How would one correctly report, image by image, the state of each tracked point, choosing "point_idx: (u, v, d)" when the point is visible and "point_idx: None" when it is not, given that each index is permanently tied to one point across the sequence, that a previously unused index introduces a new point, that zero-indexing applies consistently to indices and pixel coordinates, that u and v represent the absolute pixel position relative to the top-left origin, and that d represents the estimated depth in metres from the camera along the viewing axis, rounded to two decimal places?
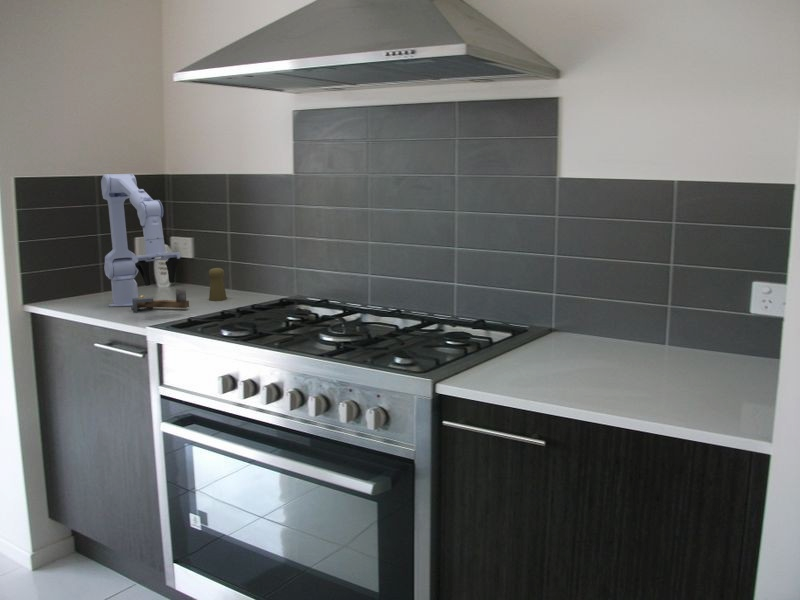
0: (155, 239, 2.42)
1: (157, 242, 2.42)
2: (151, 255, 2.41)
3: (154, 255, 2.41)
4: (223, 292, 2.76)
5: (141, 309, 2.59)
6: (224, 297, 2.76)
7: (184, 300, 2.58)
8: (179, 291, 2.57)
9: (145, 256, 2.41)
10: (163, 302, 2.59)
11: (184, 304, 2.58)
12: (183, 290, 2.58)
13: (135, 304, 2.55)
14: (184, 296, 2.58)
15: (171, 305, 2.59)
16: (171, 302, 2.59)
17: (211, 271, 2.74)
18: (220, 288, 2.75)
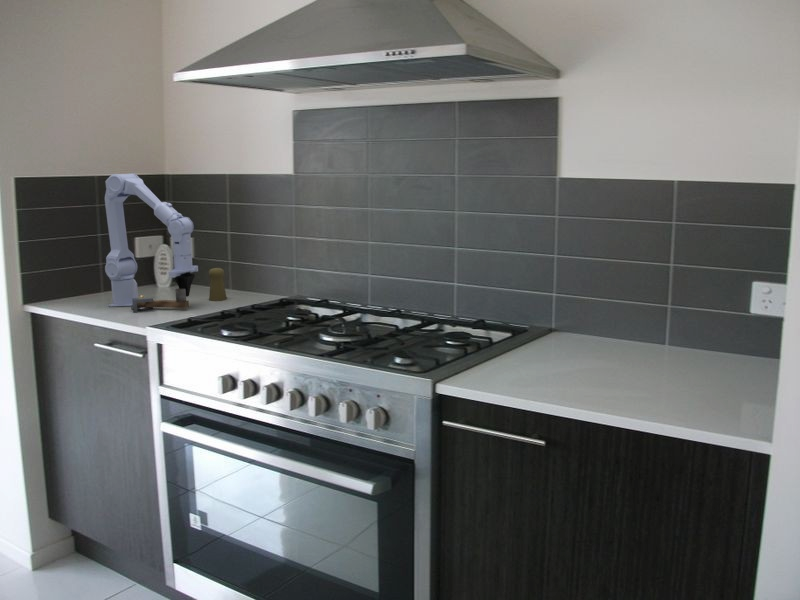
0: (189, 255, 2.58)
1: (190, 258, 2.59)
2: (185, 270, 2.57)
3: (188, 270, 2.58)
4: (223, 292, 2.76)
5: (141, 309, 2.59)
6: (224, 297, 2.76)
7: (184, 300, 2.58)
8: (179, 291, 2.57)
9: (181, 271, 2.56)
10: (163, 302, 2.59)
11: (184, 304, 2.58)
12: (183, 290, 2.58)
13: (135, 304, 2.55)
14: (184, 296, 2.58)
15: (171, 305, 2.59)
16: (171, 302, 2.59)
17: (211, 271, 2.74)
18: (220, 288, 2.75)
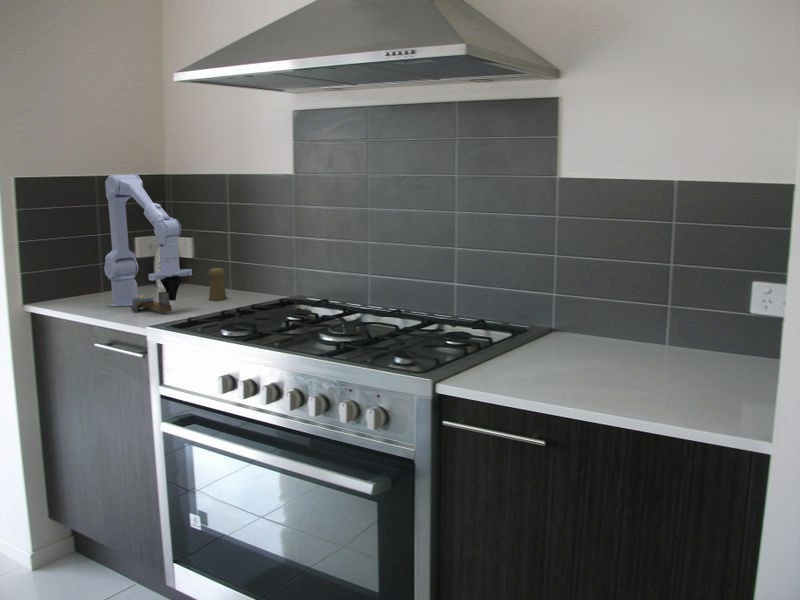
0: (172, 258, 2.50)
1: (174, 261, 2.51)
2: (167, 274, 2.50)
3: (170, 274, 2.50)
4: (223, 292, 2.76)
5: (141, 309, 2.59)
6: (224, 297, 2.76)
7: (164, 304, 2.51)
8: (159, 295, 2.51)
9: (162, 275, 2.49)
10: (151, 304, 2.56)
11: (163, 308, 2.51)
12: (163, 294, 2.51)
13: (135, 304, 2.55)
14: (165, 300, 2.51)
15: (156, 308, 2.54)
16: (156, 305, 2.54)
17: (211, 271, 2.74)
18: (220, 288, 2.75)
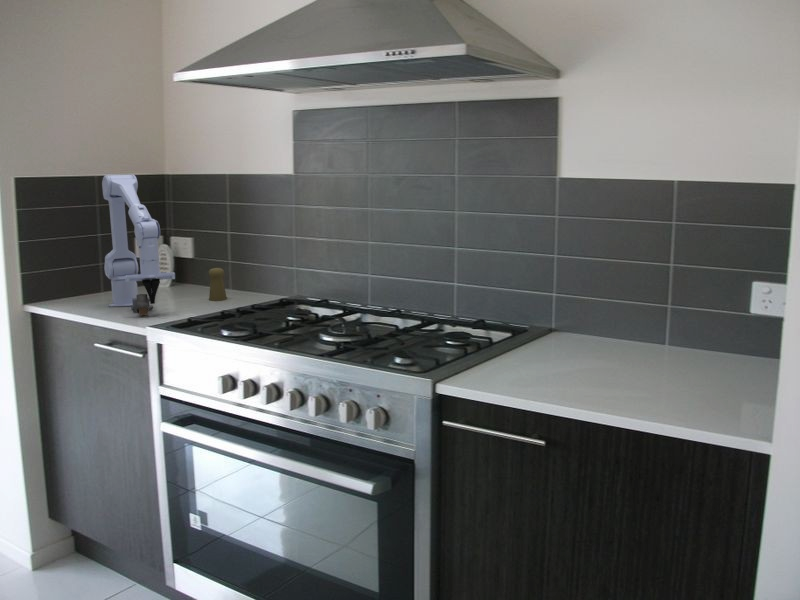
0: (147, 261, 2.45)
1: (149, 264, 2.45)
2: (142, 276, 2.45)
3: (145, 277, 2.45)
4: (223, 292, 2.76)
5: None
6: (224, 297, 2.76)
7: (140, 307, 2.47)
8: None
9: (137, 277, 2.45)
10: None
11: (139, 311, 2.47)
12: (139, 296, 2.47)
13: (135, 304, 2.55)
14: (140, 303, 2.47)
15: None
16: None
17: (211, 271, 2.74)
18: (220, 288, 2.75)
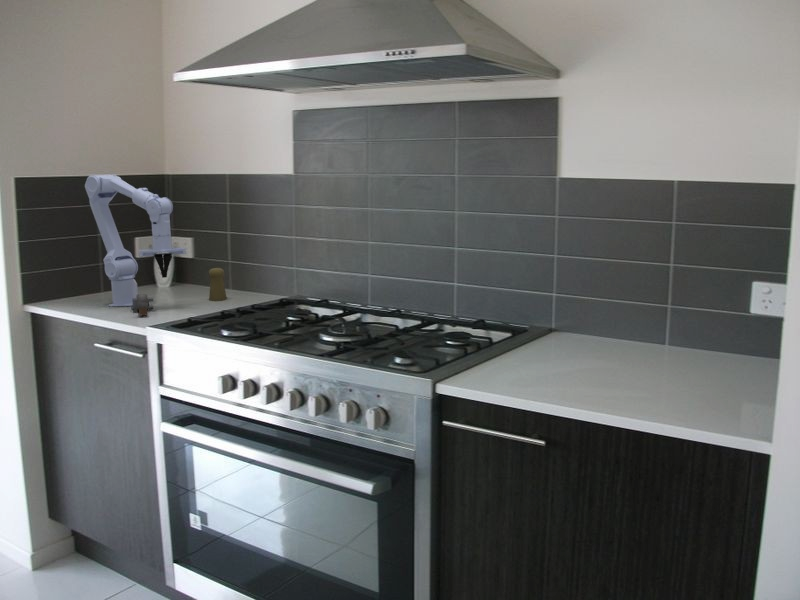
0: (160, 236, 2.55)
1: (161, 239, 2.56)
2: (155, 251, 2.56)
3: (158, 251, 2.56)
4: (223, 292, 2.76)
5: None
6: (224, 297, 2.76)
7: (140, 307, 2.47)
8: None
9: (149, 251, 2.56)
10: None
11: (139, 311, 2.47)
12: (139, 296, 2.47)
13: (135, 304, 2.55)
14: (140, 303, 2.47)
15: None
16: None
17: (211, 271, 2.74)
18: (220, 288, 2.75)
